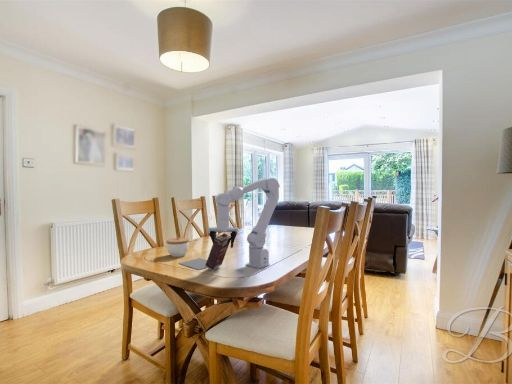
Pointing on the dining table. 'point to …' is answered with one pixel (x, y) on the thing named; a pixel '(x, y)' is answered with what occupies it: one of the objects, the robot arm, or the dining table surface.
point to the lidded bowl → (177, 246)
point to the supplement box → (218, 252)
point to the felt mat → (195, 263)
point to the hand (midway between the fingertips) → (223, 247)
